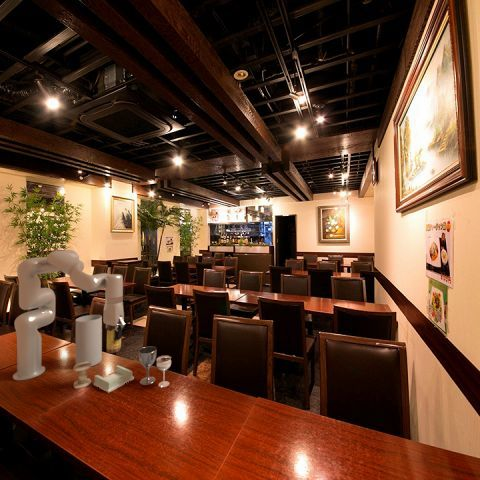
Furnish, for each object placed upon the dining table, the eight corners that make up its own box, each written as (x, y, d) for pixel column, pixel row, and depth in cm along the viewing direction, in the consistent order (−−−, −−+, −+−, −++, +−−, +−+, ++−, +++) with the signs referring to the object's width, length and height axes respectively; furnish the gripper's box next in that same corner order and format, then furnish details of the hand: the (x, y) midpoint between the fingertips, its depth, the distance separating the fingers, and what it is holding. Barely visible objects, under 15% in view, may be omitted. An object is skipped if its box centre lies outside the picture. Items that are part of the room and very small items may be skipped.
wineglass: (167, 389, 115) (167, 362, 115) (153, 387, 116) (153, 361, 116) (173, 381, 121) (173, 356, 121) (160, 379, 123) (160, 354, 123)
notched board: (93, 384, 118) (93, 376, 118) (119, 372, 129) (119, 364, 129) (108, 392, 112) (108, 383, 112) (134, 379, 123) (134, 370, 123)
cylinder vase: (103, 356, 147) (103, 314, 148) (99, 366, 135) (99, 320, 136) (79, 359, 143) (79, 316, 144) (72, 370, 132) (72, 322, 132)
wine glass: (135, 383, 119) (135, 351, 119) (147, 375, 127) (147, 345, 127) (148, 386, 116) (148, 354, 116) (159, 378, 124) (159, 347, 124)
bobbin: (70, 385, 117) (70, 366, 117) (86, 378, 123) (86, 360, 123) (78, 390, 114) (78, 370, 114) (93, 382, 120) (94, 364, 120)
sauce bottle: (114, 354, 117) (115, 311, 117) (103, 353, 118) (103, 311, 118) (124, 348, 123) (124, 308, 123) (112, 347, 125) (113, 307, 125)
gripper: (96, 299, 122) (96, 336, 122) (117, 304, 113) (117, 344, 113) (111, 296, 129) (110, 331, 128) (132, 300, 120) (132, 338, 119)
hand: (114, 337), depth 121 cm, fingers closed on sauce bottle, 6 cm apart
